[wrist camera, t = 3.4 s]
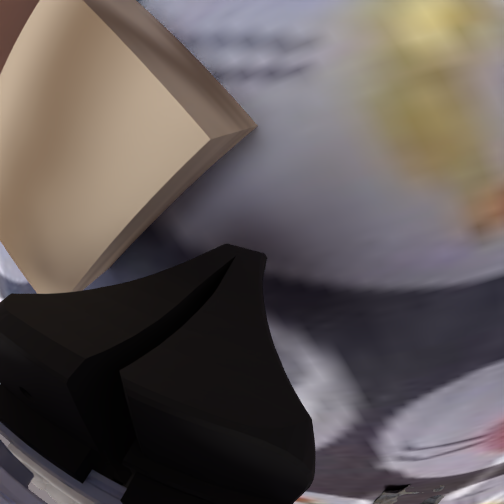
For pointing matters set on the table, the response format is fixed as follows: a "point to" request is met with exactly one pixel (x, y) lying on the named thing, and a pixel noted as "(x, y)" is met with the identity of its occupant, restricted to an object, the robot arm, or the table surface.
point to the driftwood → (386, 502)
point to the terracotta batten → (12, 24)
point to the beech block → (100, 136)
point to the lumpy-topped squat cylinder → (49, 481)
